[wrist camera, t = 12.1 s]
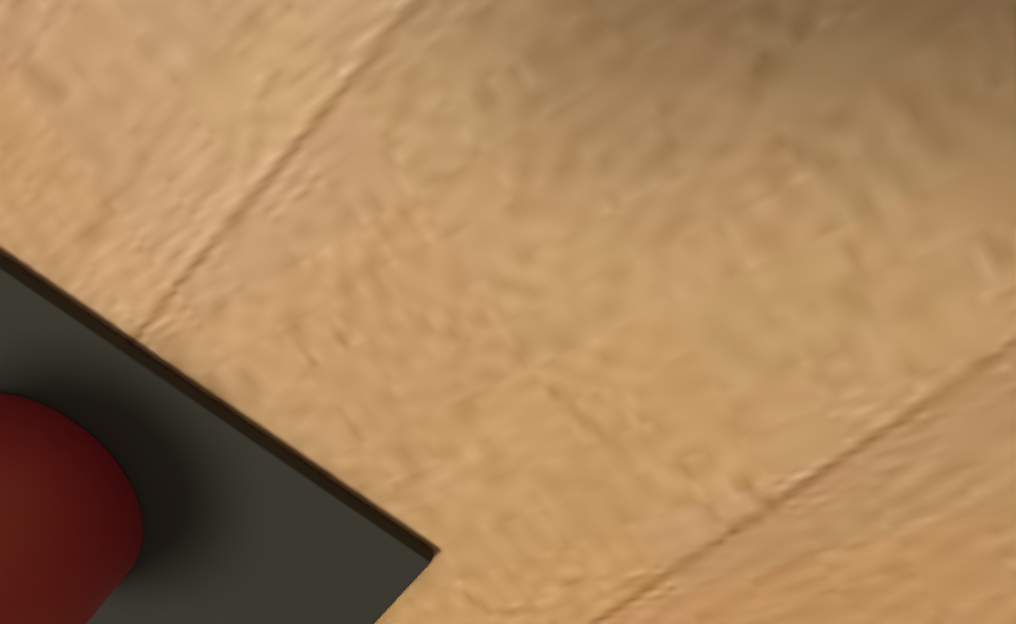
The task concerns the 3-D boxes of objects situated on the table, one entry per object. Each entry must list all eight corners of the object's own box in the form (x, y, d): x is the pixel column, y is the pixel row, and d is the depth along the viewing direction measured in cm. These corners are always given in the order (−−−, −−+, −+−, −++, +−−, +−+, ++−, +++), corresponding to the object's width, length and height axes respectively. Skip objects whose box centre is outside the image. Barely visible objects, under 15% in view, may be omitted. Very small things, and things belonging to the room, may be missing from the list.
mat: (435, 552, 23) (430, 562, 23) (226, 778, 29) (219, 790, 28) (-214, 107, 21) (-229, 111, 21) (-306, 441, 27) (-320, 450, 26)
